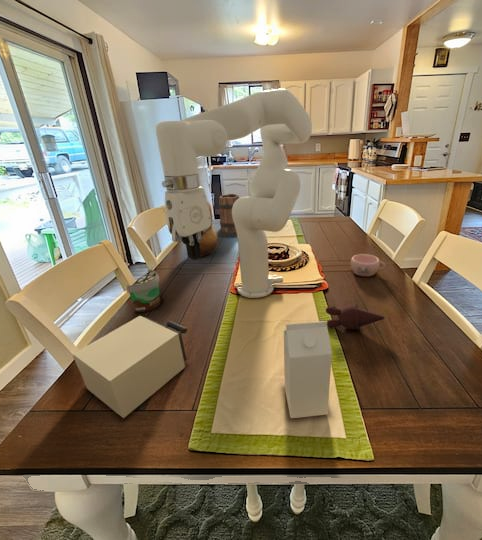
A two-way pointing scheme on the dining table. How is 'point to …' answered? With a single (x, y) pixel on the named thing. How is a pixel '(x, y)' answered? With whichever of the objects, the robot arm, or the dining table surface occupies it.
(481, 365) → the dining table surface
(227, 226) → the tankard
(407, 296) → the dining table surface
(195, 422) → the dining table surface
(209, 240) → the butternut squash
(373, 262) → the mug
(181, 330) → the drawer
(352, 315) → the icecream
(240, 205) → the robot arm
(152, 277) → the food container
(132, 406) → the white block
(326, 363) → the milk carton
